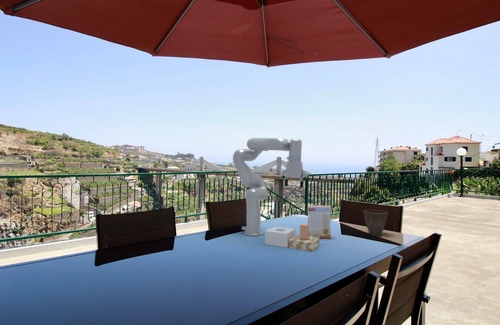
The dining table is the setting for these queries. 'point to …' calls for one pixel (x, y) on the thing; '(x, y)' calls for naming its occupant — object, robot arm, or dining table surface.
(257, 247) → the dining table surface
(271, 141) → the robot arm
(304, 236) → the plug
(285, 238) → the upper socket
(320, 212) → the cracker box
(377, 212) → the plant pot
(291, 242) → the lower socket
